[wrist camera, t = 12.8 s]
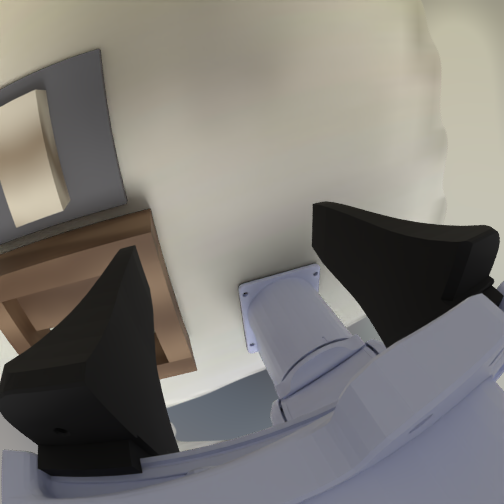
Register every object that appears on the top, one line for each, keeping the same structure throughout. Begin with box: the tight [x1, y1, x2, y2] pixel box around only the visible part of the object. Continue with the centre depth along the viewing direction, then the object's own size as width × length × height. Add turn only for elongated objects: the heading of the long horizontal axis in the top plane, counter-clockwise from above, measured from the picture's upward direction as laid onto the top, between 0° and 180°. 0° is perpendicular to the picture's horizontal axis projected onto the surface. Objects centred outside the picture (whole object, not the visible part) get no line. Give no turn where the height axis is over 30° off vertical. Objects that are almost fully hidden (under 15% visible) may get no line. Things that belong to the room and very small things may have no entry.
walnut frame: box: [0, 209, 197, 379], centre depth 20 cm, size 14×15×4 cm
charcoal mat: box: [0, 49, 127, 245], centre depth 14 cm, size 11×12×1 cm
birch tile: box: [0, 90, 70, 228], centre depth 13 cm, size 8×4×2 cm, turn 5°
